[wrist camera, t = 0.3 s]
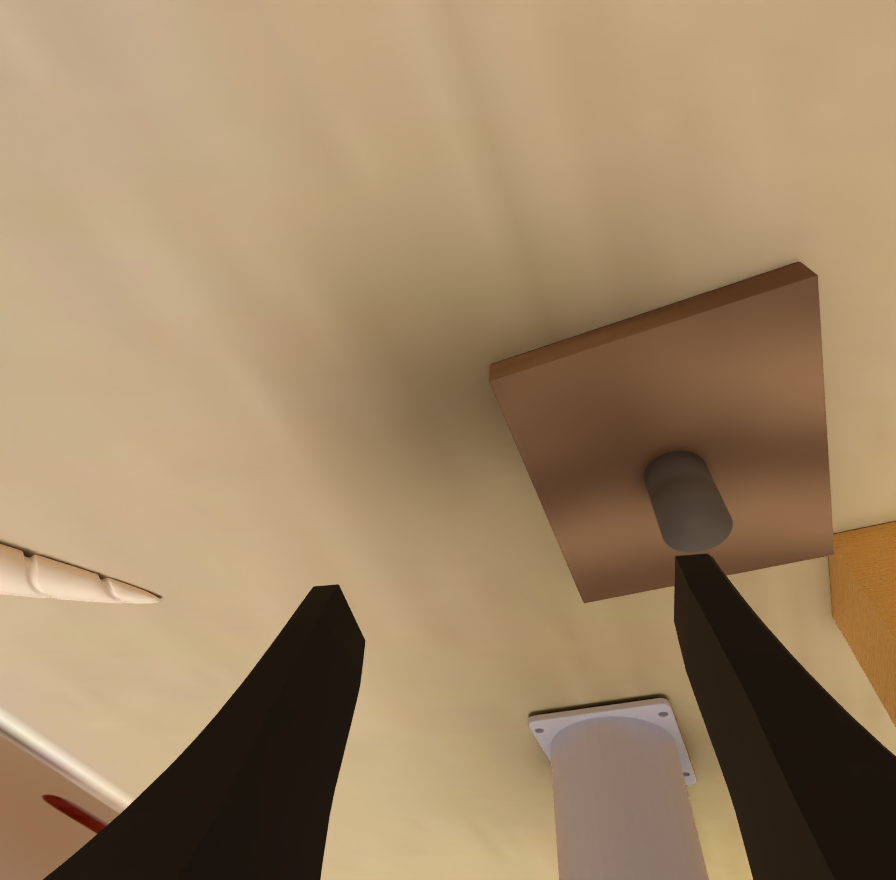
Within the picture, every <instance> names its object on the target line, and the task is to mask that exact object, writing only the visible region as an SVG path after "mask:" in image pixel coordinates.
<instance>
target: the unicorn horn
mask: <svg viewBox="0 0 896 880" xmlns="http://www.w3.org/2000/svg"><path fill="white" fill-rule="evenodd" d="M0 594H5V595H16V596H28V597H39V598H51V597H52V598H55V599H64V600H77V601H89V602H106V603H126V602H127V603H131V604H146V603H157V602H160V601H161V600H160V599H159V598H158V597H156V596H155V595H153V594H151V593H149V592H147V591H145V590H142V589H140V588H137V587H134V586H131V585H129V584H126V583H123V582H120V581H117V580H114V579H111V578H104V579H100V578H99V576H98V574H96V573H93V572H90V571H87V570H83V569H80V568H77V567H74V566H71V565H68V564H65V563H62V562H58V561H55V560H52V559H49V558H45V557H42V556H39V555H33V556H31V557H26V556H24V554H23V552H22V550H19V549H16V548H12V547H9V546H6V545H3V544H0Z"/></svg>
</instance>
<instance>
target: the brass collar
mask: <svg viewBox="0 0 896 880" xmlns="http://www.w3.org/2000/svg"><path fill="white" fill-rule="evenodd" d="M833 544H834V555H829V570H830V585H831V600H832V615H833V618H834V620H835V622H836V624H837V625H838V627H839V629H840V631H841V632H842V634H843V636H844V638H845V639H846V641H847V643H848V645H849V646H850V648H851V650H852V652H853V653H854V655H855V657H856V659H857V660H858V662H859V664H860V666H861V667H862V669H863V671H864V673H865V674H866V676H867V678H868V680H869V681H870V683H871V685H872V687H873V688H874V690H875V692H876V694H877V695H878V697H879V699H880V701H881V702H882V704H883V706H884V708H885V709H886V711H887V713H888V715H889V716H890V718H891V720H892V722H893V723H894V725H895V727H896V522H891V523H886V524H881V525H876V526H872V527H867V528H862V529H857V530H852V531H847V532H842V533H837V534H833Z"/></svg>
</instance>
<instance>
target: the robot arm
mask: <svg viewBox="0 0 896 880" xmlns="http://www.w3.org/2000/svg"><path fill="white" fill-rule="evenodd" d="M674 623H675V627H676V631H677V635H678V640H679V644H680V648H681V652H682V656H683V660H684V664H685V668H686V672H687V675H688V677H689V680H690V683H691V686H692V689H693V692H694V695H695V697H696V700H697V703H698V706H699V709H700V711H701V714H702V717H703V720H704V723H705V725H706V728H707V731H708V734H709V737H710V739H711V742H712V745H713V748H714V750H715V753H716V756H717V759H718V762H719V764H720V767H721V770H722V773H723V776H724V778H725V781H726V784H727V787H728V790H729V793H730V796H731V799H732V803H733V806H734V809H735V812H736V816H737V820H738V823H739V827H740V831H741V835H742V838H743V842H744V846H745V850H746V853H747V857H748V861H749V865H750V869H751V872H752V876H753V880H896V756H895V755H894V754H892V753H891V752H890V751H889V750H888V749H887V748H886V747H884V746H883V745H882V744H881V743H880V742H879V741H878V740H877V739H876V738H875V737H874V736H872V735H871V734H870V733H869V732H868V731H867V730H866V729H865V728H864V727H863V726H862V725H861V724H860V723H858V722H857V721H856V720H855V719H854V718H853V717H852V716H851V715H850V714H849V713H848V712H847V711H846V710H845V709H844V708H843V707H842V706H841V705H840V704H839V703H838V702H837V701H836V700H835V699H834V698H833V697H832V696H831V695H830V694H829V693H828V692H827V691H826V690H825V689H824V688H823V687H822V686H821V685H820V684H819V683H818V682H817V681H816V680H815V679H814V678H813V677H812V676H811V675H810V674H809V673H808V672H807V671H806V670H805V669H804V667H803V666H802V665H801V664H800V663H799V662H798V661H797V660H796V659H795V658H794V657H793V656H792V655H791V653H790V652H789V651H788V650H787V649H786V648H785V647H784V646H783V644H782V643H781V642H780V641H779V640H778V639H777V638H776V636H775V635H774V634H773V633H772V632H771V631H770V630H769V629H768V627H767V626H766V625H765V624H764V623H763V622H762V620H761V619H760V618H759V617H758V616H757V614H756V613H755V612H754V611H753V610H752V608H751V607H750V606H749V605H748V603H747V602H746V601H745V600H744V598H743V597H742V596H741V595H740V593H739V592H738V591H737V590H736V588H735V587H734V586H733V584H732V583H731V582H730V580H729V579H728V578H727V576H726V575H725V574H724V572H723V571H722V569H721V568H720V567H719V565H718V564H717V562H716V561H715V559H714V558H713V557H712V556H711V555H709V554H708V553H706V554H694V555H682V556H675V596H674ZM364 648H365V639H364V637H363V635H362V633H361V631H360V629H359V626H358V624H357V622H356V620H355V618H354V616H353V614H352V612H351V610H350V607H349V605H348V603H347V601H346V599H345V597H344V595H343V593H342V591H341V588H340V586H339V585H327V586H315V587H313V588H312V589H311V591H310V592H309V593H308V595H307V596H306V597H305V599H304V600H303V601H302V603H301V604H300V606H299V607H298V608H297V610H296V611H295V613H294V614H293V615H292V617H291V618H290V620H289V621H288V622H287V624H286V625H285V626H284V628H283V629H282V631H281V632H280V633H279V635H278V636H277V638H276V639H275V640H274V642H273V643H272V644H271V646H270V647H269V648H268V650H267V651H266V652H265V654H264V655H263V656H262V658H261V659H260V660H259V662H258V663H257V664H256V666H255V667H254V668H253V670H252V671H251V672H250V674H249V675H248V676H247V678H246V679H245V680H244V681H243V683H242V684H241V685H240V686H239V688H238V689H237V690H236V691H235V693H234V694H233V695H232V696H231V697H230V699H229V700H228V701H227V702H226V704H225V705H224V706H223V707H222V709H221V710H220V711H219V712H218V713H217V715H216V716H215V717H214V718H213V719H212V720H211V722H210V723H209V724H208V725H207V726H206V727H205V729H204V730H203V731H202V732H201V733H200V734H199V735H198V736H197V738H196V739H195V740H194V741H193V742H192V743H191V744H190V745H189V746H188V747H187V748H186V749H185V751H184V752H183V753H182V754H181V755H180V756H179V757H178V758H177V759H176V760H175V761H174V762H173V763H172V764H171V765H170V766H169V767H168V768H167V769H166V770H165V771H164V772H163V773H162V774H161V775H160V776H159V777H158V778H157V779H156V780H155V781H154V782H153V783H152V784H151V785H150V786H149V787H148V788H147V789H146V790H145V791H144V792H143V793H142V794H141V795H140V796H139V797H138V798H137V799H135V800H134V801H133V802H132V803H131V804H130V805H129V806H128V807H127V808H126V809H125V810H124V811H123V812H122V813H121V814H120V815H119V816H117V817H116V818H115V819H114V820H113V821H112V822H111V823H110V824H108V825H107V826H106V827H105V828H104V829H103V830H102V831H101V832H99V833H98V834H97V835H96V836H95V837H94V838H93V839H91V840H90V841H89V842H88V843H87V844H86V845H84V846H83V847H82V848H81V849H80V850H79V851H78V852H76V853H75V854H74V855H73V856H72V857H70V858H69V859H68V860H67V861H66V862H64V863H63V864H62V865H61V866H59V867H58V868H57V869H56V870H54V871H53V872H52V873H51V874H49V875H48V876H47V877H46V878H44V879H43V880H320V878H321V870H322V862H323V856H324V849H325V843H326V836H327V830H328V823H329V816H330V811H331V806H332V801H333V796H334V791H335V787H336V783H337V779H338V775H339V771H340V767H341V763H342V759H343V755H344V751H345V747H346V742H347V738H348V734H349V730H350V726H351V722H352V718H353V714H354V710H355V705H356V701H357V697H358V693H359V688H360V682H361V674H362V667H363V658H364ZM528 727H529V728H530V730H531V732H532V733H533V735H534V737H535V738H536V740H537V741H538V743H539V745H540V746H541V748H542V749H543V751H544V753H545V754H546V756H547V758H548V759H549V761H550V762H551V765H552V780H553V795H554V810H555V825H556V840H557V855H558V870H559V880H709V878H708V874H707V870H706V866H705V862H704V858H703V853H702V849H701V845H700V841H699V837H698V833H697V829H696V825H695V821H694V817H693V813H692V809H691V804H690V800H689V796H688V792H687V788H686V786H688V785H693V784H695V783H696V781H697V780H696V776H695V773H694V770H693V767H692V765H691V762H690V759H689V756H688V753H687V750H686V748H685V745H684V742H683V739H682V736H681V733H680V731H679V728H678V725H677V722H676V719H675V716H674V714H673V711H672V708H671V705H670V702H669V701H668V700H666V699H664V698H656V699H648V700H641V701H634V702H627V703H620V704H613V705H606V706H599V707H591V708H584V709H577V710H570V711H563V712H556V713H549V714H542V715H535V716H531V717H529V719H528Z"/></svg>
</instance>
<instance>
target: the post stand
mask: <svg viewBox="0 0 896 880" xmlns="http://www.w3.org/2000/svg"><path fill="white" fill-rule="evenodd" d="M489 382H490V384H491V387H492V389H493V391H494V394H495V396H496V398H497V401H498V403H499V405H500V408H501V410H502V412H503V415H504V417H505V419H506V422H507V424H508V426H509V429H510V431H511V433H512V436H513V438H514V441H515V443H516V445H517V448H518V450H519V452H520V455H521V457H522V459H523V462H524V464H525V466H526V469H527V471H528V473H529V476H530V478H531V480H532V483H533V485H534V487H535V490H536V492H537V494H538V497H539V499H540V501H541V504H542V506H543V509H544V511H545V513H546V516H547V518H548V520H549V523H550V525H551V527H552V530H553V532H554V534H555V537H556V539H557V541H558V544H559V546H560V548H561V551H562V553H563V555H564V558H565V560H566V562H567V565H568V567H569V569H570V572H571V574H572V577H573V579H574V581H575V584H576V586H577V588H578V591H579V593H580V595H581V598H582V600H583V602H584V603H587V602H593V601H598V600H603V599H608V598H613V597H618V596H623V595H629V594H634V593H639V592H644V591H649V590H654V589H659V588H665V587H670V586H675V556H682V555H694V554H706V553H708V554H709V555H711V556H712V557H713V558H714V559H715V561H716V562H717V564H718V565H719V567H720V568H721V569H722V571H723V572H724V574H725V575H731V574H737V573H742V572H747V571H752V570H757V569H762V568H767V567H772V566H778V565H783V564H788V563H793V562H798V561H803V560H808V559H814V558H819V557H824V556H829V555H834V544H833V527H832V510H831V493H830V476H829V459H828V442H827V426H826V409H825V392H824V375H823V358H822V341H821V324H820V308H819V291H818V275H817V274H815V273H814V272H813V271H811V270H810V269H809V268H807V267H806V266H805V265H803V264H802V263H801V262H798V263H795V264H792V265H789V266H786V267H783V268H780V269H777V270H774V271H771V272H768V273H765V274H762V275H759V276H756V277H753V278H750V279H747V280H744V281H741V282H738V283H735V284H732V285H729V286H726V287H723V288H720V289H717V290H714V291H711V292H708V293H705V294H702V295H699V296H696V297H693V298H690V299H687V300H684V301H680V302H677V303H674V304H671V305H668V306H665V307H662V308H659V309H656V310H653V311H650V312H647V313H644V314H641V315H638V316H635V317H632V318H629V319H626V320H623V321H620V322H617V323H614V324H611V325H608V326H605V327H602V328H599V329H596V330H593V331H590V332H587V333H584V334H581V335H578V336H575V337H572V338H569V339H566V340H563V341H560V342H557V343H554V344H551V345H548V346H545V347H542V348H539V349H536V350H533V351H530V352H527V353H524V354H521V355H518V356H515V357H512V358H509V359H506V360H503V361H500V362H497V363H494V364H491V365H490V378H489Z"/></svg>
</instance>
